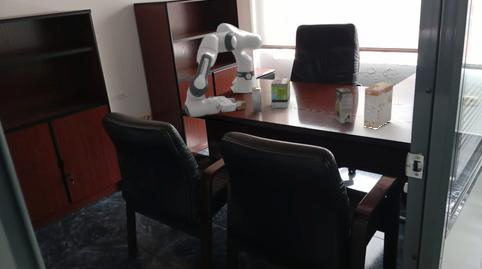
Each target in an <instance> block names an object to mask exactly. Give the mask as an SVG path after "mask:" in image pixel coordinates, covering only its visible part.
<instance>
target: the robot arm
mask: <svg viewBox="0 0 482 269" xmlns="http://www.w3.org/2000/svg"><path fill="white" fill-rule="evenodd" d="M262 44H263V40H262V36H261V35H260V34H258V33H253V32H249V31H246V30H242V29H239V28H238V27H236V26H235V25H233V24H229V23H224V22H223V23H220V24H219V25H218V26H217V29H216V33H212V34H210V33H209V34H207V35H204V36H203V37H202V39H201V43H200V44H199V47H198V50H197V55H196V63H198V67H197V71H196V73H195V76H194V77H193V78H191V80H190V81H189V86H188V89H187V92H186V100H185V102H184V103H183V108H184V109H183V110H184V112H185V114H186V115H187V116H188V117H190V118H191V117H192V118H193V117H195V118H197V117H198V118H199V117H202V116H205V115H214V114H219V113H220V111H221V112H222V113H226V112H234V111H236V110H237V109H236V107H238V106H241V102H237V103H234V102H236V99H235V98H234V97H232V98H230V97H228V98H227V97H225V96H224V95H221V96H208V98H206V96H205V95H206V94H207V93H208V91H209V81H208V80H209V73H210V70H211V67H213V66H214V65H215V63H216V60H217V57H218V54H219V53H225V52H232V54H233V55H234V58H235V62H236V72H235V73H236V74H235V75H236V77H235V78H234V79H233V81H232V83H231V84H232V86H230V89H231V90H232V92H233V93H235V94H237V93H239V94H250V93H252V88H253V87H258V82H257V81H258V80H257V77H256V76H255V70H254V59H253V58H252V56H251V55H248V54H247V51H255V50H259V49H261V47H262Z"/></svg>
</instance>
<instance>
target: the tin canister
mask: <svg viewBox="0 0 482 269" xmlns="http://www.w3.org/2000/svg"><path fill="white" fill-rule="evenodd" d="M251 94H252V97H251V99H252V110H253V111H252V113H254V114H261V113H262V112H263V108H262V107H263V105H262V104H263V103H262V87H260V86H257V87H253V88H252V92H251Z"/></svg>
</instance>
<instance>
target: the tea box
mask: <svg viewBox="0 0 482 269" xmlns="http://www.w3.org/2000/svg"><path fill="white" fill-rule="evenodd" d="M270 87H271V88H270V93H271V99H270V100H271V104H270V106H271V108H275V109H283V108H284V109H287V108H288V107H289V105H290V102H291V79H290V78H287V77H286V78H283V77H281V78H280V77H279V78H273V80H272V82H271V84H270Z"/></svg>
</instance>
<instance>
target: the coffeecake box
mask: <svg viewBox="0 0 482 269" xmlns="http://www.w3.org/2000/svg"><path fill="white" fill-rule="evenodd" d="M393 88H394V83H389V82H383V81H382V82H378V83H375V84H373V85H371V86H368V87H366V88H364V106H363V107H364V108H363V110H364V111H363V127H364V126H366V127H372V128H378V127H379V126H381V125H383V124H385V123H387V122H388V121H390V120H391V121H392V108H393V107H392V106H393V94H394V93H393V92H394V89H393ZM387 124H388V123H387ZM378 129H379V128H378Z"/></svg>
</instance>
